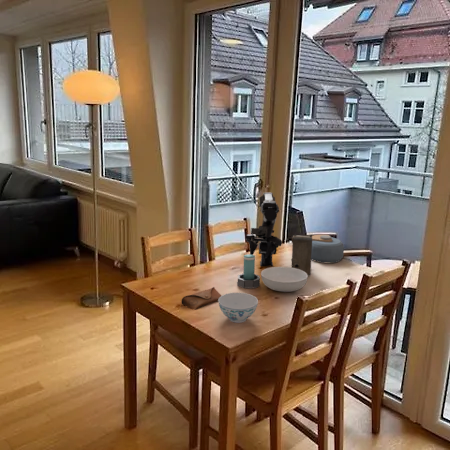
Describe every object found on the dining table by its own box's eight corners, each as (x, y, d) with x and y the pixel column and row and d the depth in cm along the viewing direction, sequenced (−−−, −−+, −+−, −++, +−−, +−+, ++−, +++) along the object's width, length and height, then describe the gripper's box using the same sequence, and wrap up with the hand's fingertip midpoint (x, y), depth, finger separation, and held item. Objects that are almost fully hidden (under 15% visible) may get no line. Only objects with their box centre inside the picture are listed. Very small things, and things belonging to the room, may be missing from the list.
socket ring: (237, 279, 213) (237, 272, 212) (259, 280, 212) (259, 273, 212) (237, 288, 203) (237, 280, 202) (260, 288, 202) (260, 281, 202)
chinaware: (233, 331, 163) (234, 312, 161) (210, 316, 174) (210, 298, 172) (265, 321, 171) (266, 302, 169) (241, 307, 183) (241, 289, 181)
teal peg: (242, 280, 210) (243, 254, 207) (254, 281, 210) (254, 254, 207) (243, 285, 205) (243, 257, 202) (254, 285, 205) (255, 258, 202)
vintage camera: (308, 266, 233) (310, 229, 229) (311, 276, 218) (312, 236, 214) (289, 266, 234) (290, 228, 230) (290, 275, 219) (292, 235, 215)
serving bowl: (313, 285, 207) (314, 271, 206) (296, 301, 190) (297, 285, 188) (272, 276, 218) (273, 263, 216) (252, 290, 200) (252, 276, 198)
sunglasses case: (194, 310, 179) (188, 294, 180) (184, 314, 184) (179, 298, 185) (227, 298, 191) (221, 283, 192) (217, 302, 196) (212, 287, 198)
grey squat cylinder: (323, 250, 260) (324, 229, 257) (350, 259, 244) (352, 238, 241) (298, 255, 250) (299, 234, 247) (325, 265, 234) (327, 243, 231)
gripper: (243, 219, 218) (233, 249, 214) (273, 220, 205) (263, 252, 201) (256, 227, 225) (247, 257, 222) (286, 230, 212) (277, 261, 208)
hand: (258, 256), depth 213 cm, fingers open, 9 cm apart
